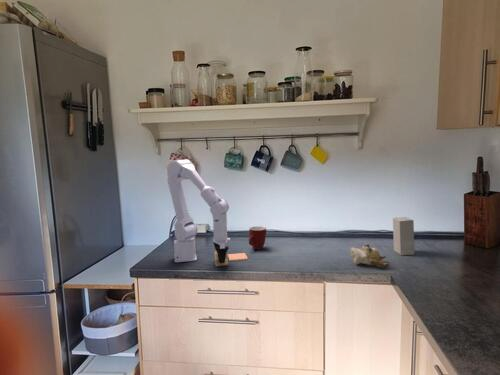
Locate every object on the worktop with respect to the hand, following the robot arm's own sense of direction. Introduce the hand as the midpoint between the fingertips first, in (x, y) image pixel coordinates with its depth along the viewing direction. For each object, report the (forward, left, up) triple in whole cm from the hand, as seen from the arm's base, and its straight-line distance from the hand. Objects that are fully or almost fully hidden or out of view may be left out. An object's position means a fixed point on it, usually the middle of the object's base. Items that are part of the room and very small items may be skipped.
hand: (221, 260), depth 153 cm
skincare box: (+82, -6, -2) cm, 82 cm away
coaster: (+8, +6, -1) cm, 10 cm away
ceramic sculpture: (+59, -16, -2) cm, 61 cm away
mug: (+19, +16, -2) cm, 25 cm away
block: (0, 0, -2) cm, 2 cm away
